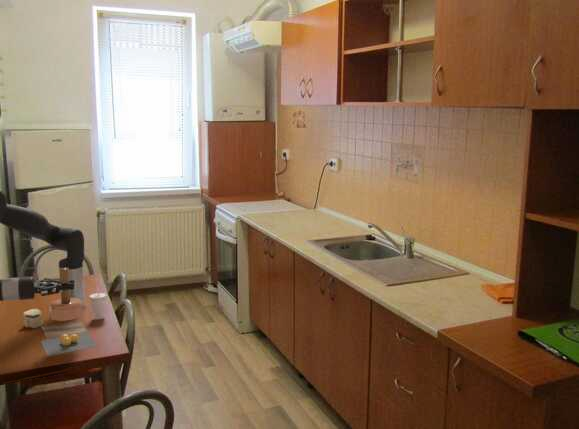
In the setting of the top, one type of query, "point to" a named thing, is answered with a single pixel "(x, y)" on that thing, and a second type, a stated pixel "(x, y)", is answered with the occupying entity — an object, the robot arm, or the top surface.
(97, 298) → the smoothie
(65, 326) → the clear flat panel
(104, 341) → the top surface
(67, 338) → the amber marble
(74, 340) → the amber marble
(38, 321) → the beige piece
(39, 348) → the top surface
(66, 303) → the peg on base plate
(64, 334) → the amber marble
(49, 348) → the slate mat
